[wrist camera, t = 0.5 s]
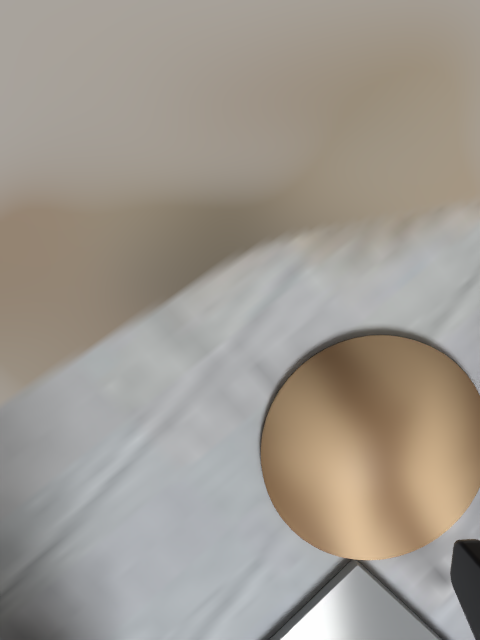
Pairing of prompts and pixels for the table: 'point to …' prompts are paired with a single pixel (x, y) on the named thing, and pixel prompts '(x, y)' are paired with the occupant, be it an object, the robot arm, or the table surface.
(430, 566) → the table surface
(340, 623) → the stone coaster
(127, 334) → the table surface
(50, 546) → the table surface
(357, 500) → the cork trivet
